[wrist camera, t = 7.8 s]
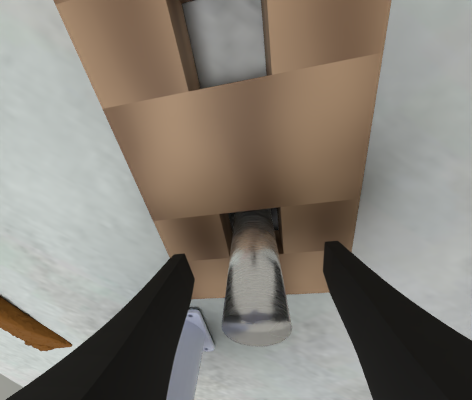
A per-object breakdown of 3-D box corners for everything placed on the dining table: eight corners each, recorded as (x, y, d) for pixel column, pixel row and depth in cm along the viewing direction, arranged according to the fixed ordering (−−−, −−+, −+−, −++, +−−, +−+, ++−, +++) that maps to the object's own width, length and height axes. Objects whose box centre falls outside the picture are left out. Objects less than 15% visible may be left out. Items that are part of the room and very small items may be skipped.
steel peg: (238, 228, 15) (228, 347, 8) (232, 199, 14) (214, 309, 7) (272, 225, 15) (292, 345, 8) (269, 194, 13) (290, 306, 6)
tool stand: (196, 274, 18) (188, 299, 16) (46, -116, 7) (-39, -203, 5) (332, 264, 16) (345, 291, 14) (383, -249, 6) (463, -453, 4)
